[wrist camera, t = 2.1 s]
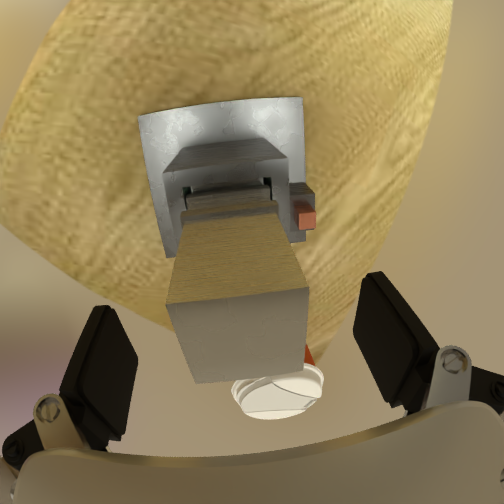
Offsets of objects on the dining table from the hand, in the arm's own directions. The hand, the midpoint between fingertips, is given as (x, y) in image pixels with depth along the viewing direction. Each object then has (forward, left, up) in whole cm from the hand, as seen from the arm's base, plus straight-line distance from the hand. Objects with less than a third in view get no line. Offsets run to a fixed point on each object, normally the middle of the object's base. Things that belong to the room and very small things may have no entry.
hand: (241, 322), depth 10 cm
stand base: (0, 0, -18) cm, 18 cm away
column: (0, 0, -17) cm, 17 cm away
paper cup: (+14, +2, -18) cm, 23 cm away
